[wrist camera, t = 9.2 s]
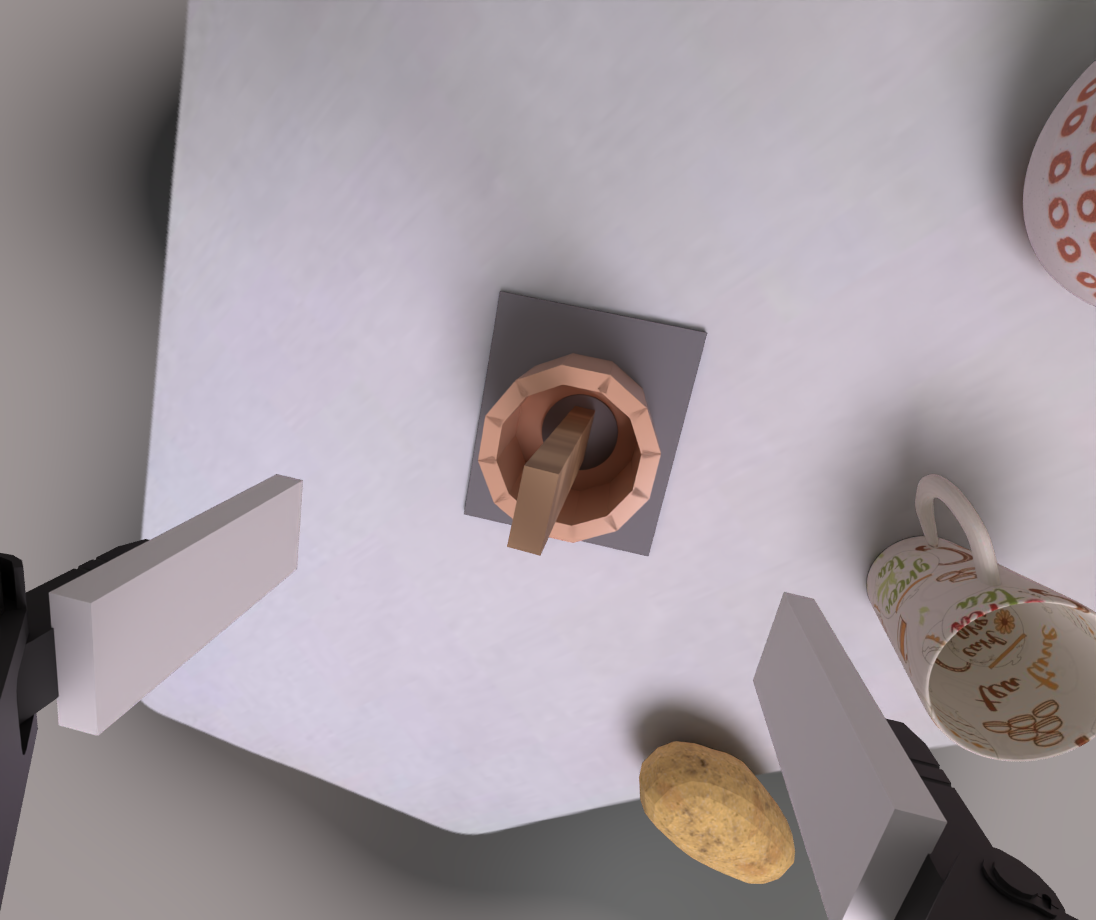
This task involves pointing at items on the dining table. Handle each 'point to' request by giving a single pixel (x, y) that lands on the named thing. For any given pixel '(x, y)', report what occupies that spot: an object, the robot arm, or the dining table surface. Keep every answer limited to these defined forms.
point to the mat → (632, 344)
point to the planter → (1066, 191)
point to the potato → (716, 811)
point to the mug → (985, 639)
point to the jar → (596, 492)
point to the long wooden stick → (560, 466)
